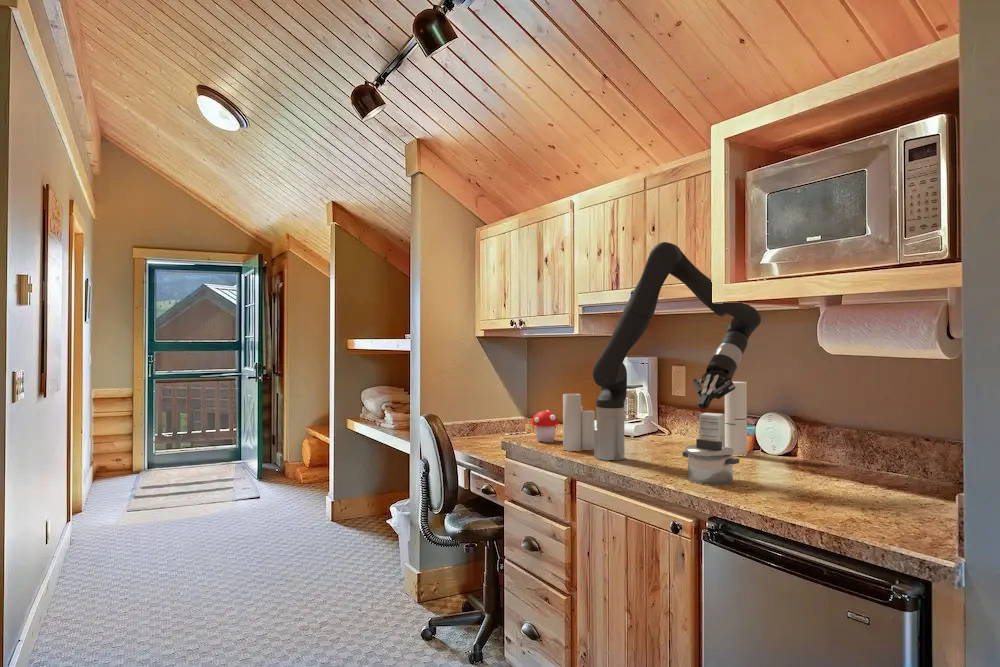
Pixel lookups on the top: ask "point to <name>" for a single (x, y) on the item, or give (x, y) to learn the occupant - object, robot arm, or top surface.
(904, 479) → the top surface
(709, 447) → the lid
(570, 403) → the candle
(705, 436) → the supplement box
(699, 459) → the pot
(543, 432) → the mushroom
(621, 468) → the top surface
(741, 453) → the cylindrical container
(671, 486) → the top surface
